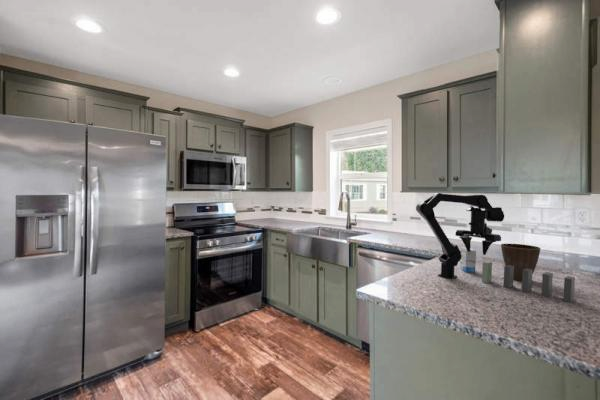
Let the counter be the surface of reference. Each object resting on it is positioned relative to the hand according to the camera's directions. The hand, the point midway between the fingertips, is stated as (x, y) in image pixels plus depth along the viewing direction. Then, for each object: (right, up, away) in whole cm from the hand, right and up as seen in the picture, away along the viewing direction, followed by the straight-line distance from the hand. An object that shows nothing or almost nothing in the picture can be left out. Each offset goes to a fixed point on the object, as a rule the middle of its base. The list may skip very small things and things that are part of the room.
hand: (476, 253), depth 136 cm
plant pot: (+20, -13, 0) cm, 24 cm away
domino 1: (+7, -12, -12) cm, 18 cm away
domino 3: (+14, -13, -22) cm, 29 cm away
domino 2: (+10, -13, -17) cm, 24 cm away
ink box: (+4, -12, +14) cm, 19 cm away
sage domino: (+2, -12, -5) cm, 13 cm away
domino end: (+18, -13, -28) cm, 35 cm away
